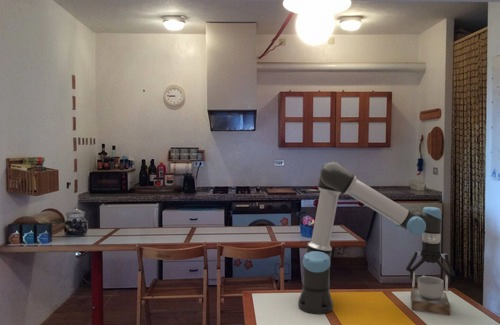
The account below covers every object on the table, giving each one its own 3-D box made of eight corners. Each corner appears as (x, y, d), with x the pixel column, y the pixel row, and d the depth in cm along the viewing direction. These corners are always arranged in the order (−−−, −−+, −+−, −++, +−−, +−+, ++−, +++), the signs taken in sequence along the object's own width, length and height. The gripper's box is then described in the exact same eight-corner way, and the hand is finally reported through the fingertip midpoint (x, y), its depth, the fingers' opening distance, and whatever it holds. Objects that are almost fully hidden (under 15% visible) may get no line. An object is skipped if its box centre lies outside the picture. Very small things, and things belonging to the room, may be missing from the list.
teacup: (446, 302, 177) (446, 284, 177) (419, 300, 179) (420, 282, 179) (437, 291, 191) (438, 274, 191) (413, 289, 193) (413, 273, 193)
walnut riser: (411, 309, 180) (412, 300, 180) (410, 296, 196) (410, 287, 196) (449, 315, 175) (450, 305, 175) (445, 301, 191) (445, 292, 191)
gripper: (401, 241, 185) (400, 287, 186) (463, 246, 176) (461, 295, 177) (401, 237, 192) (400, 282, 193) (460, 242, 183) (459, 289, 184)
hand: (429, 288), depth 185 cm, fingers open, 13 cm apart
